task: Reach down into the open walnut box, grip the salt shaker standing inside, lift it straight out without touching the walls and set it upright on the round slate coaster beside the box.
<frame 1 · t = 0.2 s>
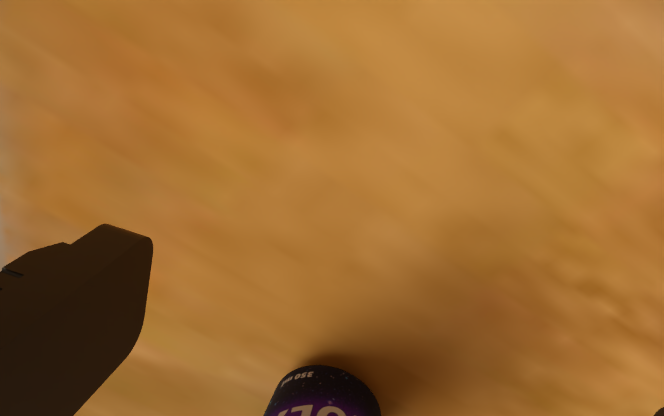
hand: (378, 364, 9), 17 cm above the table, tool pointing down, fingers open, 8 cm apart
beverage can: (331, 396, 32), on the table
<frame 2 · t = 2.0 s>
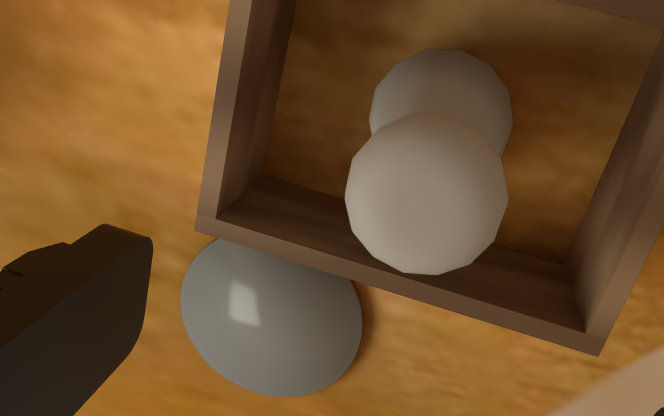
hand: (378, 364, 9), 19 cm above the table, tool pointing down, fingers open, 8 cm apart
walnut box: (441, 109, 27), on the table
slate coaster: (271, 312, 33), on the table
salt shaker: (442, 108, 27), resting in walnut box
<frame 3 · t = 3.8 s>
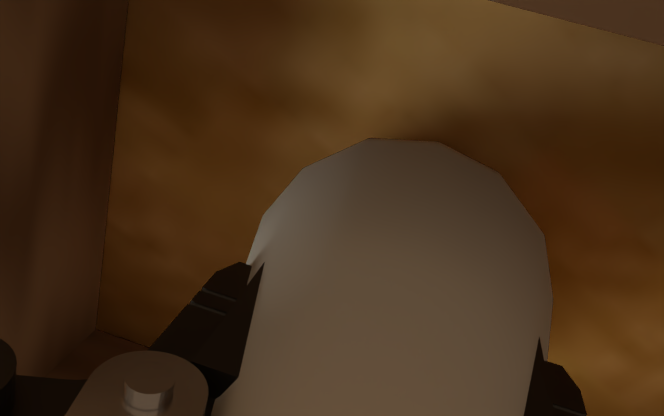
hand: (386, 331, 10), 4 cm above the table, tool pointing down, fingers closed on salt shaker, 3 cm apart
walnut box: (407, 237, 14), on the table
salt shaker: (408, 233, 14), resting in walnut box, touching gripper
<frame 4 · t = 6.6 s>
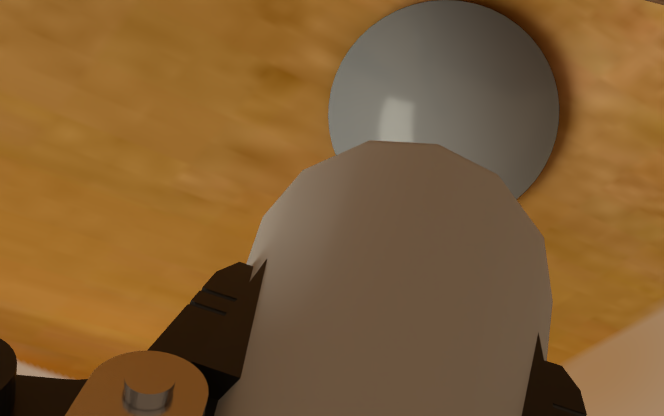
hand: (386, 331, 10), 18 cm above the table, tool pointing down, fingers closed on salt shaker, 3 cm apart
slate coaster: (439, 117, 27), on the table
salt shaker: (408, 235, 14), point 14 cm above the table, touching gripper
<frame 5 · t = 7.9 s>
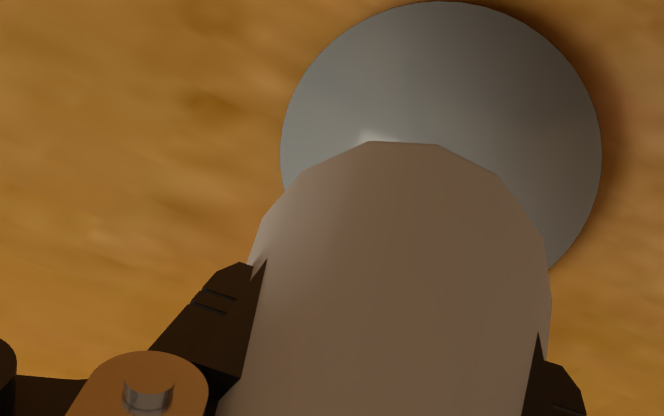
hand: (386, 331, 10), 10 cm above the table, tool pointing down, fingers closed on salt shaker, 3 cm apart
slate coaster: (433, 163, 20), on the table
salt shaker: (408, 235, 14), point 6 cm above the table, touching gripper
when the fingers open (6 cm above the table, at t = 9.0 s): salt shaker drops 1 cm, resting on slate coaster.
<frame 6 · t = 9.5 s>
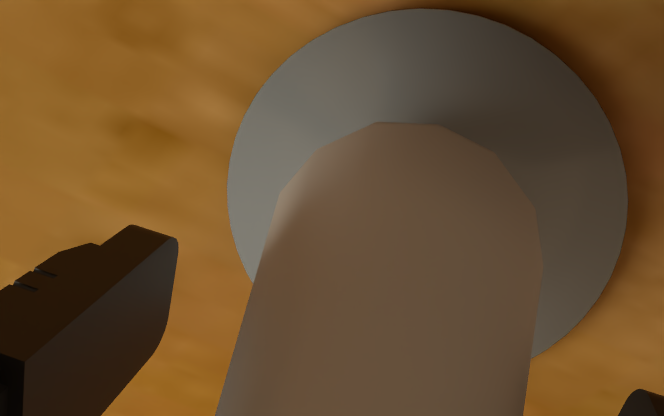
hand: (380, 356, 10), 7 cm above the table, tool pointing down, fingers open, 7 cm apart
slate coaster: (415, 208, 16), on the table
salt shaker: (411, 210, 16), resting on slate coaster
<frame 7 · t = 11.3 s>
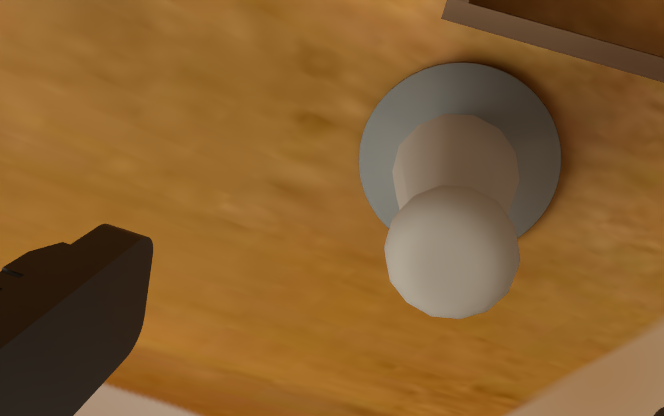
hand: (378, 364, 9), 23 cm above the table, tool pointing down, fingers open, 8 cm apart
slate coaster: (456, 161, 31), on the table
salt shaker: (455, 161, 31), resting on slate coaster
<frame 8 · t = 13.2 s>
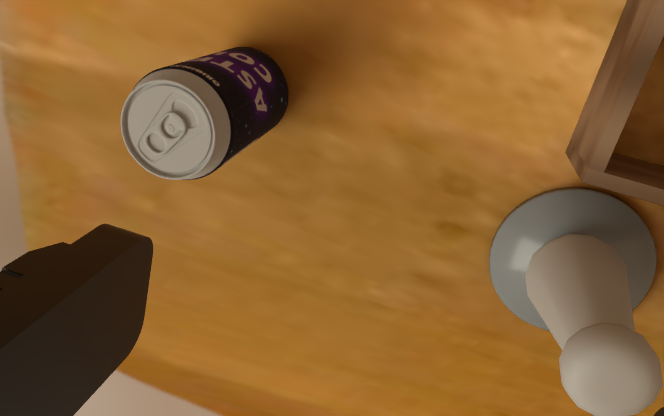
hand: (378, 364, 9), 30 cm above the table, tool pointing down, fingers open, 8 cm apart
slate coaster: (569, 260, 39), on the table
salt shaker: (569, 262, 39), resting on slate coaster
beverage can: (251, 89, 40), on the table
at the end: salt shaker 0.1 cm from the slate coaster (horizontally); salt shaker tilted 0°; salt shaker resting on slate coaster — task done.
